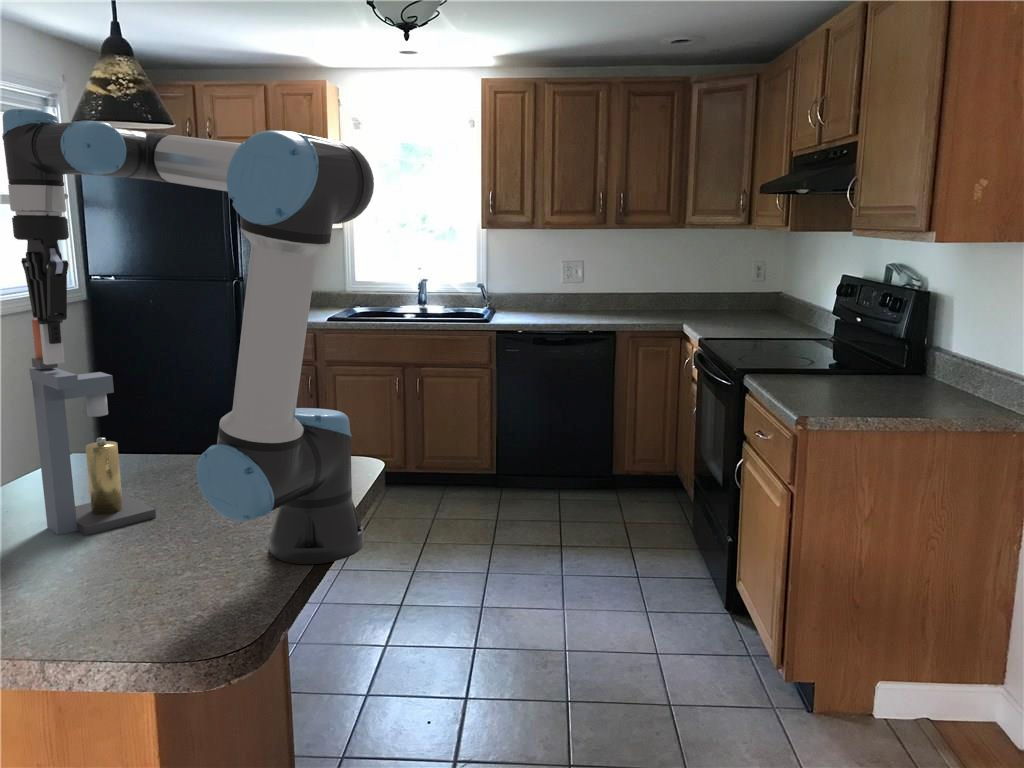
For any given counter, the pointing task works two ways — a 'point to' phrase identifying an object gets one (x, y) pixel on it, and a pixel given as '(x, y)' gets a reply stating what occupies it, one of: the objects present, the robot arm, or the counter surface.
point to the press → (56, 454)
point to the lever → (39, 348)
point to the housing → (104, 477)
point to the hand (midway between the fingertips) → (54, 363)
